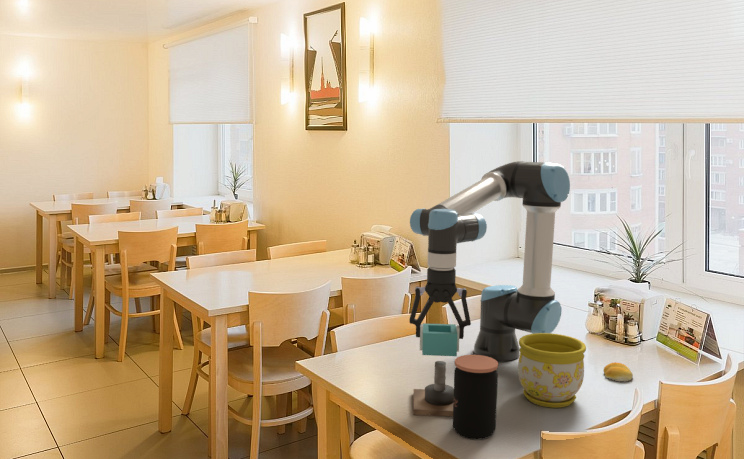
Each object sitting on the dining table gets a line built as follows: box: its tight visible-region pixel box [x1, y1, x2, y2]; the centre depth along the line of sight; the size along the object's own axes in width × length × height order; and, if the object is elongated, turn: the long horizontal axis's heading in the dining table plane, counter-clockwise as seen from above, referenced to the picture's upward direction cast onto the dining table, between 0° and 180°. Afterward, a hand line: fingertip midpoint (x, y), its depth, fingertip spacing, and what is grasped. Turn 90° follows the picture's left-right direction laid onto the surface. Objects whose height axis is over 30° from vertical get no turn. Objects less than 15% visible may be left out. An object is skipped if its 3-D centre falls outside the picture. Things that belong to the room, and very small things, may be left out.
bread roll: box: [603, 361, 634, 382], centre depth 203 cm, size 8×9×4 cm
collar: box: [421, 322, 458, 357], centre depth 178 cm, size 9×9×6 cm
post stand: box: [412, 360, 454, 417], centre depth 179 cm, size 14×14×12 cm
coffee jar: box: [452, 354, 499, 440], centre depth 164 cm, size 11×11×18 cm
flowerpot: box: [517, 332, 587, 409], centre depth 184 cm, size 18×18×16 cm
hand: (439, 349), depth 178 cm, fingers closed on collar, 9 cm apart
